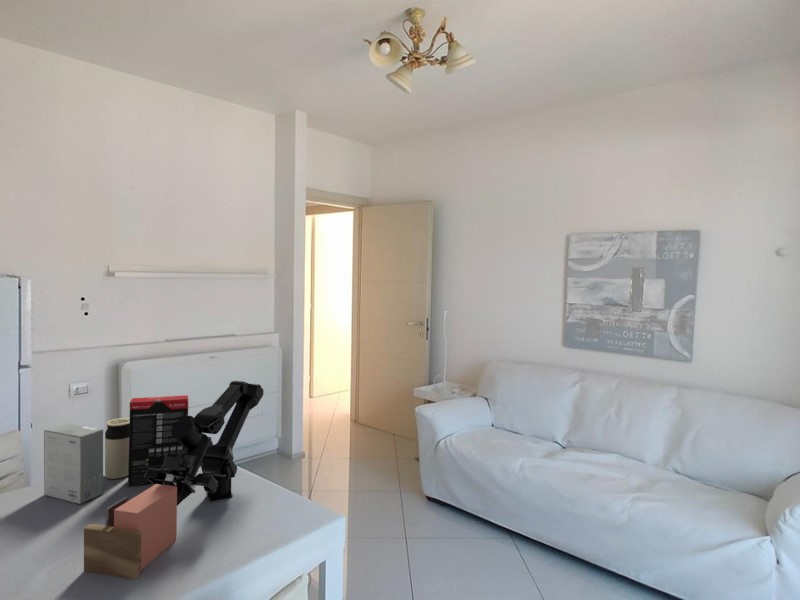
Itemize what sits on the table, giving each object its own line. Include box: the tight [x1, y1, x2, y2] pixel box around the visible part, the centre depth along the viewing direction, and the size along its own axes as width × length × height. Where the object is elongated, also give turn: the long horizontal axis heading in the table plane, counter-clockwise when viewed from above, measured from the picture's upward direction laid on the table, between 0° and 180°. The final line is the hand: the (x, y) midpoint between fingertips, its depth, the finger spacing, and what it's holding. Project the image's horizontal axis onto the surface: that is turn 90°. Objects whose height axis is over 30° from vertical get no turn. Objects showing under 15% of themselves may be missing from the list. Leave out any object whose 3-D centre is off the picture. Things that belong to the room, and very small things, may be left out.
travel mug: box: [104, 417, 130, 480], centre depth 159 cm, size 8×8×18 cm
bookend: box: [105, 496, 129, 527], centre depth 113 cm, size 6×5×14 cm
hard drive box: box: [43, 423, 104, 505], centre depth 144 cm, size 16×8×20 cm, turn 71°
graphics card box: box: [127, 394, 189, 486], centre depth 156 cm, size 17×7×27 cm, turn 114°
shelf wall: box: [83, 523, 142, 580], centre depth 108 cm, size 2×13×10 cm, turn 80°
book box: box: [114, 484, 178, 571], centre depth 115 cm, size 14×6×14 cm, turn 170°
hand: (166, 512), depth 123 cm, fingers closed, pressing on book box
